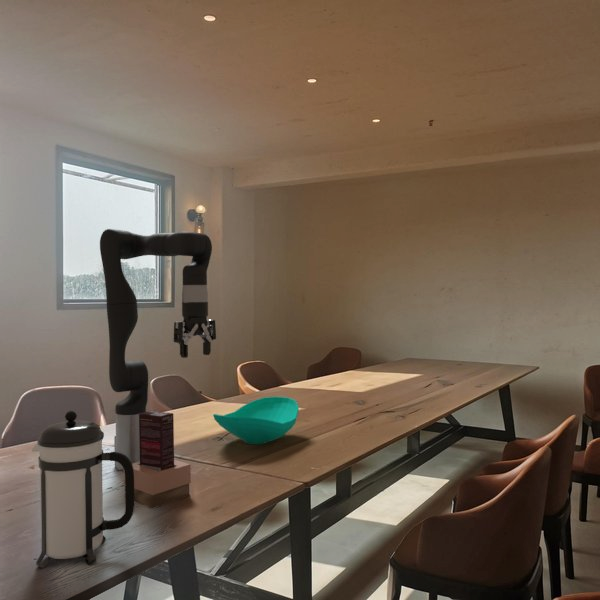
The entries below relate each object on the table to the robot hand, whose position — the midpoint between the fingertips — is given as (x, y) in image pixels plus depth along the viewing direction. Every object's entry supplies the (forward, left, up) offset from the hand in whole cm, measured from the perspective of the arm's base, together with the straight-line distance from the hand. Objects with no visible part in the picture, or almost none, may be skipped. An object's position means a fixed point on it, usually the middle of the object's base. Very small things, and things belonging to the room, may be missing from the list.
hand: (195, 356), depth 164 cm
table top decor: (-14, +42, -36) cm, 57 cm away
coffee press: (+16, -47, -36) cm, 61 cm away
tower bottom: (+2, -16, -37) cm, 40 cm away
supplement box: (+2, -16, -30) cm, 34 cm away
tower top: (+2, -16, -33) cm, 36 cm away
